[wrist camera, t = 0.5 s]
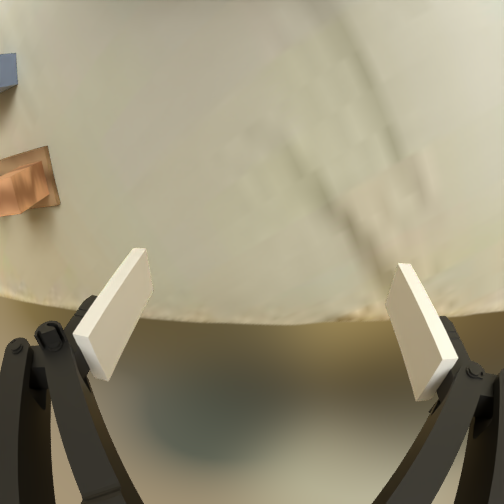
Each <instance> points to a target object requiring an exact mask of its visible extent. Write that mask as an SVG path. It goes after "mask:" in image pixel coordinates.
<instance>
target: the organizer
mask: <svg viewBox="0 0 504 504" xmlns="http://www.w3.org/2000/svg"><path fill="white" fill-rule="evenodd" d="M58 204H60V199H59V195H58V191H57V187H56V183H55V179H54V175H53V170H52V166H51V161H50V156H49V151H48V146H44V147H41V148H37V149H34V150H30V151H27V152H23V153H20V154H17V155H13V156H10V157H7V158H4V159H1V160H0V216H7V215H15V214H21V213H22V212H24V211H25V210H27V209H32V208H39V207H48V206H56V205H58Z"/></svg>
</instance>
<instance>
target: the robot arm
mask: <svg viewBox="0 0 504 504" xmlns="http://www.w3.org/2000/svg"><path fill="white" fill-rule="evenodd" d="M153 291H154V288H153V283H152V278H151V273H150V267H149V262H148V256H147V250H146V248H133V249H132V250H131V252H130V253H129V254H128V256H127V257H126V258H125V259H124V261H123V262H122V263H121V265H120V266H119V268H118V269H117V270H116V272H115V273H114V274H113V276H112V277H111V278H110V280H109V281H108V283H107V284H106V285H105V287H104V288H103V290H102V291H101V292H100V294H99V295H98V296H94V295H92V296H90V297H89V298H87V299H86V300H85V301H84V302H83V303H82V304H81V306H80V307H79V310H77V311H76V313H75V314H74V316H73V317H72V319H71V320H70V321H69V323H68V324H67V326H66V327H65V329H64V330H63V328H62V326H61V324H60V323H58V322H57V321H48V322H45V323H43V324H41V325H40V326H39V327H38V328H37V330H36V331H35V335H34V336H35V338H36V340H37V342H38V344H39V346H30V344H29V343H28V341H27V340H26V339H25V338H16V339H14V340H12V341H11V342H10V343H9V344H8V345H7V347H6V349H5V353H4V358H3V362H2V367H1V372H0V504H56V503H55V495H54V486H53V475H52V462H51V461H52V460H51V433H50V431H51V430H50V418H51V401H52V405H53V409H54V413H55V417H56V421H57V424H58V428H59V431H60V435H61V438H62V442H63V445H64V448H65V451H66V454H67V458H68V461H69V463H70V466H71V469H72V472H73V475H74V477H75V480H76V483H77V485H78V487H79V490H80V493H81V495H82V499H83V501H82V502H81V504H144V503H143V501H142V500H141V498H140V496H139V494H138V493H137V491H136V489H135V487H134V485H133V483H132V481H131V479H130V477H129V475H128V473H127V471H126V469H125V467H124V466H123V463H122V461H121V459H120V457H119V455H118V453H117V451H116V448H115V446H114V444H113V442H112V439H111V437H110V435H109V433H108V430H107V428H106V425H105V423H104V421H103V418H102V415H101V413H100V410H99V408H98V405H97V402H96V400H95V397H94V394H93V391H92V388H91V385H90V383H89V380H88V378H87V374H88V372H89V370H90V371H91V372H92V375H93V376H94V378H98V379H102V380H106V381H109V379H110V377H111V375H112V373H113V371H114V369H115V366H116V364H117V362H118V360H119V358H120V356H121V354H122V352H123V350H124V348H125V346H126V344H127V342H128V340H129V338H130V335H131V334H132V332H133V330H134V328H135V326H136V324H137V322H138V320H139V318H140V316H141V314H142V312H143V310H144V308H145V306H146V304H147V303H148V301H149V299H150V297H151V295H152V293H153ZM385 306H386V309H387V311H388V314H389V317H390V320H391V323H392V325H393V328H394V331H395V334H396V337H397V340H398V343H399V346H400V349H401V352H402V355H403V359H404V362H405V365H406V368H407V372H408V375H409V378H410V382H411V385H412V389H413V392H414V396H415V399H416V401H423V400H431V399H432V397H433V396H434V394H435V393H436V391H437V394H438V397H439V399H438V400H437V402H436V403H435V404H434V406H433V407H432V408H431V410H430V411H429V413H430V415H429V416H428V418H427V420H426V422H425V424H424V426H423V427H422V429H421V431H420V433H419V434H418V436H417V438H416V440H415V441H414V443H413V445H412V446H411V448H410V449H409V451H408V453H407V454H406V456H405V457H404V459H403V461H402V462H401V464H400V465H399V467H398V468H397V470H396V471H395V473H394V474H393V475H392V477H391V478H390V480H389V481H388V483H387V484H386V486H385V487H384V488H383V490H382V491H381V492H380V494H379V495H378V496H377V498H376V499H375V501H373V503H372V504H431V503H432V501H433V499H434V498H435V496H436V494H437V492H438V491H439V489H440V487H441V485H442V483H443V481H444V479H445V477H446V476H447V474H448V472H449V470H450V468H451V466H452V464H453V462H454V459H455V457H456V455H457V453H458V451H459V449H460V446H461V444H462V442H463V440H464V437H465V435H466V432H467V430H468V427H469V433H468V440H467V446H466V452H465V458H464V463H463V468H462V472H461V477H460V481H459V486H458V490H457V493H456V497H455V501H454V504H504V369H502V370H501V372H500V373H499V374H498V375H494V374H488V373H485V371H484V369H483V368H482V367H481V365H479V364H478V363H476V362H473V361H471V360H470V358H469V356H468V354H467V352H466V350H465V348H464V345H463V344H462V341H461V340H460V339H459V338H460V337H459V335H458V334H457V333H456V329H455V327H454V325H453V323H452V322H451V321H450V320H449V319H448V318H447V317H446V316H438V314H437V312H436V310H435V308H434V306H433V304H432V302H431V301H430V299H429V297H428V295H427V293H426V291H425V289H424V287H423V286H422V284H421V282H420V280H419V278H418V277H417V275H416V273H415V271H414V269H413V268H412V266H411V264H405V263H397V267H396V270H395V274H394V277H393V280H392V284H391V287H390V290H389V293H388V297H387V300H386V303H385ZM469 425H470V426H469Z"/></svg>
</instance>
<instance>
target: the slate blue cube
mask: <svg viewBox="0 0 504 504" xmlns="http://www.w3.org/2000/svg"><path fill="white" fill-rule="evenodd" d="M17 84H18V80H17V67H16V53H11V54H0V93H1V92H3V91H5V90H7V89H9V88H11V87H13V86H15V85H17Z"/></svg>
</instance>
